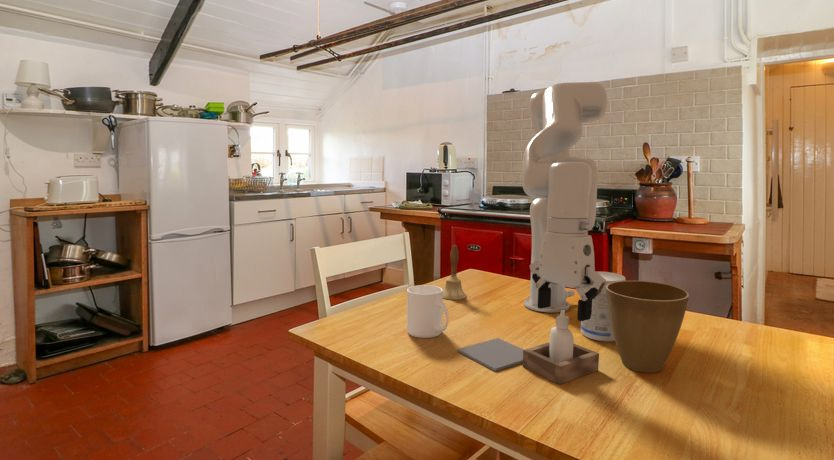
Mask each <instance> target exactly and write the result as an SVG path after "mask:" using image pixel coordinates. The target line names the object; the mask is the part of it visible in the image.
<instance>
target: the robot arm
mask: <svg viewBox="0 0 834 460" xmlns="http://www.w3.org/2000/svg"><path fill="white" fill-rule="evenodd" d="M528 104H529V114H530V115H529V116H530V120H531V124H532V127H533V129H534V132H535V135H534V137H532V138H531V140H530V141H529V142H528V143H527V146H526V147H525V150H524V152H523V155H522V156H523V157H522V166H521V167H522V169H521V170H522V172H521V183H522V189H523V192H524V193H525V194H526V195H527V196H528V197H530V198H535V199H534V200H532V201H531V203H530V207H529V219H530V225H531V226H530V227H531V254H530V255H531V257H530V259H531V260H530V264H529V270H530V284H529V285H530V286H529V288H530V289H529V297H527V298H525V299H524V300H523V304H524V306H525V307H526V308H527V309H528V310H532V311H535V312H539V313H540V312H542V313H553V314H554V313H556V314H557V313H561V310H564V311H565V312H567V311H569V310H570V302H568V301H567V299H568V298H571V297H574V296H575V291H574V290H573V289H575V290H576V293H577V294H578V295H579V297H580V299H578V301H577V317H576V319H577V321H578V322H581V321H585V320H589V319H590V318H591V314H592V299H595V297H596V296H597V295H598V294H600V293H601V289H602V288H603V287H604V285H605V283H606V280H605V279H604V278H603V277H602V276H601V275H600V274H598V273H597V272H598V271H596V269H595V268H596V267H595V263H596V262H595V251H594V244H593V238H592V235H591V234H590V235H589V231H592V230H593V228H594V226H595V224H596V216H597V196H598V167H597V163H596V161H595V160H594V159H593V158H591V157H589V156H571V155H570V148H572V147H573V146H575V145H577V144H578V142H579V141H580V139H581V138H582V136H583V130H584V129H583V123H585V124H589V123H594V122H597V121H599V120H601V119H602V118H603V117H604V115H605V113H606V111H607V107H608V94H607V91H606V88H605V86H604V85H603V84H601V83H600V82H597V81H586V82H585V81H584V82H580V81H579V82H576V81H575V82H560V83H559V82H558V83H555V84H553V85H550V86H549V87H548V88H547V89H544V90H539V91H537V92H534V93H533V94H532V95H531V96H530V99H529V103H528ZM593 284H594V285H593ZM591 285H593V288H591ZM566 287H567V288H571V289H569V290H566ZM583 288H584V289H583ZM585 291H586V292H585Z"/></svg>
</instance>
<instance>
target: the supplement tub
mask: <svg viewBox="0 0 834 460" xmlns="http://www.w3.org/2000/svg"><path fill="white" fill-rule="evenodd" d="M596 272H597V273H598V274H600V275H601V276H602V277H603V278H604V279H605V280H606V283H605V285H604V287H603V288H602V289H601V293H600V294H598V295H597V296H596V297H595V299H592V314H591V318H590V319H589V320H585V321H580V333H581V334H582V335H583V336H584V337H586V338H588V339H591V340H593V341H599V342H607V343H611V342H615V338H614V334H613V330H612V326H611V321H610V315H609V309H608V301H607V292H606V286H607V285H608V284H610V283H612V282H617V281H627V280H626V277H625V276H624V275H622V274H620V273H616V272H612V271H611V272H610V271H596ZM593 285H594V284H593ZM593 285H591V288H593ZM583 289H584V288H583ZM585 292H586V291H585Z"/></svg>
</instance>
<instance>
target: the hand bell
mask: <svg viewBox="0 0 834 460" xmlns="http://www.w3.org/2000/svg"><path fill="white" fill-rule="evenodd" d="M449 254H450V255H449V258H450V265H451V268H450V269H451V270H450V271H451V272H450V276H449V277H447V278H446V280H445V286H444V288H443V299H444V300H449V301H457V300H458V301H459V300H464V299H466V298H467V293H465V292H464V290H463V286H462V281H461V278H459V277H457V274H458V272H457V270H458V269H457V264H458V262H459V259H460V258H459V257H460V255H459V249H458V246H457V245H456V244H453V245H452V246H451V250H450V253H449Z"/></svg>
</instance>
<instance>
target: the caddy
mask: <svg viewBox="0 0 834 460" xmlns="http://www.w3.org/2000/svg"><path fill="white" fill-rule="evenodd" d="M549 348H550V341H549V342H546V343H543V344H538V345H536V346H532V347H528V348H526V349H524V350H523V363H522V367H523V368H525V369H527V370H528V371H530V372H531V371H532V372H533V373H535V374H537V375H539V376H542V377H543V378H545V379H548V380H550V381H551V382H554V383H556V384H557V385H563V384H565V383H568V382H570V381H573V380H575V379H577V378H581V377H584V376H586V375H589V374H591V373H595V372H596V371H599V365H600V364H599V363H600V362H599V361H600V352H596V351H594V350H591V349H589V348H586V347H583V346H581V345H579V344H576V343H574V342H573V359H570V360H567V361H564V362H561V363H559V362H557V361H554V360H552V359H550V358H549Z"/></svg>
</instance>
